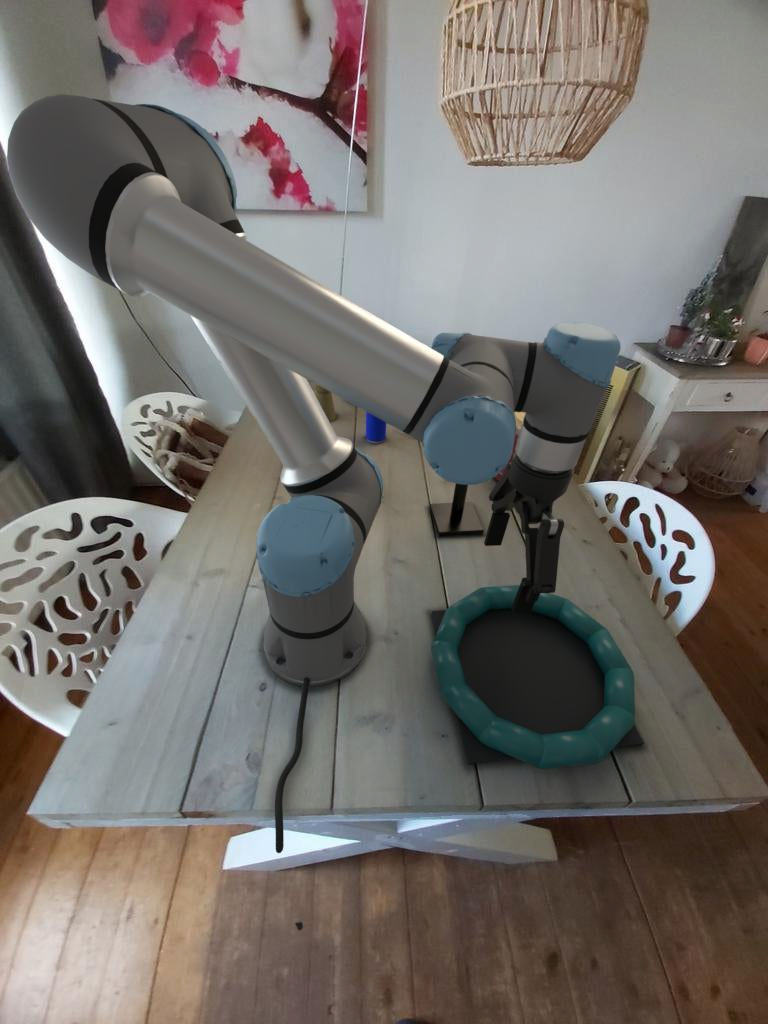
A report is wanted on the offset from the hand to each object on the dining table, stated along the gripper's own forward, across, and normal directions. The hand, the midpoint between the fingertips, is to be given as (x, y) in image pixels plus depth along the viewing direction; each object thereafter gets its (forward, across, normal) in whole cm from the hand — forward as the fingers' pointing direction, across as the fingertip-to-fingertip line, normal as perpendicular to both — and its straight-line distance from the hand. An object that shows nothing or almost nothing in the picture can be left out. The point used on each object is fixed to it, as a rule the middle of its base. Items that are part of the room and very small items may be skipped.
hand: (505, 574), depth 68 cm
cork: (+9, +69, +27) cm, 75 cm away
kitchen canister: (+8, +37, -18) cm, 42 cm away
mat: (+8, -12, -1) cm, 14 cm away
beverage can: (+9, +56, +14) cm, 58 cm away
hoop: (+5, -12, -1) cm, 13 cm away
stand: (+8, +22, +1) cm, 23 cm away
